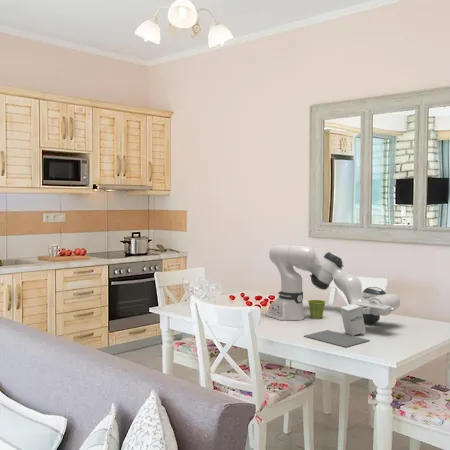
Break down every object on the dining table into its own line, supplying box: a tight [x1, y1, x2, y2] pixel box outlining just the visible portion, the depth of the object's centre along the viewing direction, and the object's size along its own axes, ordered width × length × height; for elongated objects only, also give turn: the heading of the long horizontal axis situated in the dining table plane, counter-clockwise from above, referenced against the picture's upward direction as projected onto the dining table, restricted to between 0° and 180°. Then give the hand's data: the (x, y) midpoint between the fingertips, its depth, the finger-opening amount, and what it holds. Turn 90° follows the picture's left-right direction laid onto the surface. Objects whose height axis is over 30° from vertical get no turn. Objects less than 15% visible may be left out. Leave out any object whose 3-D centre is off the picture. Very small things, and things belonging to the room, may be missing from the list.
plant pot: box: [307, 299, 327, 319], centre depth 294 cm, size 9×9×9 cm
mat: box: [303, 329, 371, 349], centre depth 250 cm, size 24×17×1 cm
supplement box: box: [340, 304, 367, 337], centre depth 258 cm, size 7×7×13 cm
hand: (360, 310), depth 259 cm, fingers closed
